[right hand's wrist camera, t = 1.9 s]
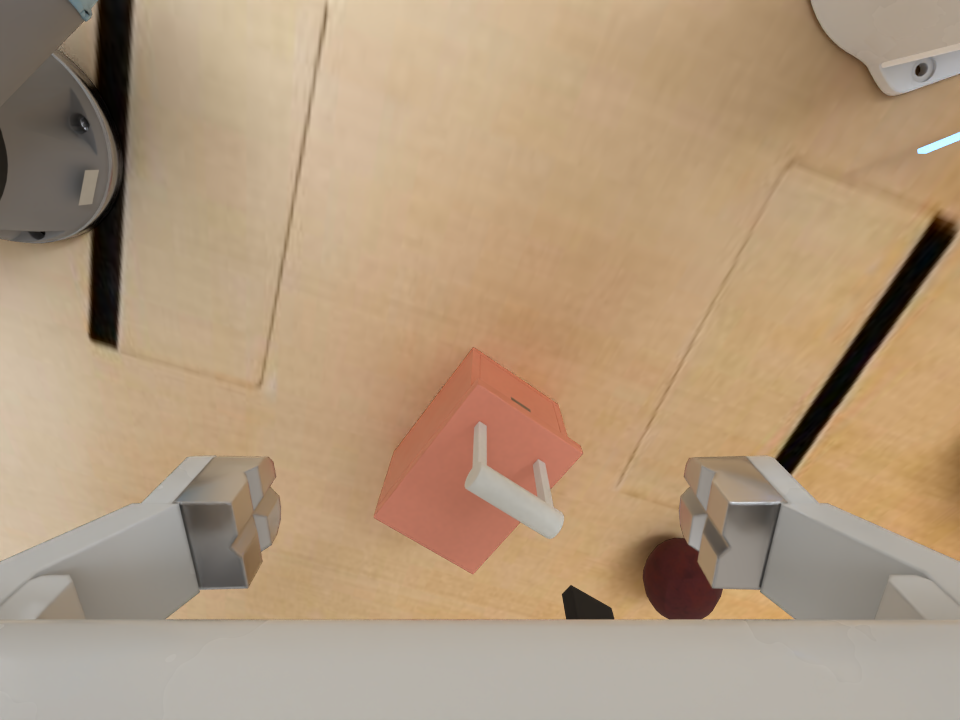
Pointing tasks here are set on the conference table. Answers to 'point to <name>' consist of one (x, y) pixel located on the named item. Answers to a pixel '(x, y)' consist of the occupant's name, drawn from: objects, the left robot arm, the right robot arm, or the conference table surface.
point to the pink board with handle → (480, 479)
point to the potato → (678, 582)
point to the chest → (450, 397)
